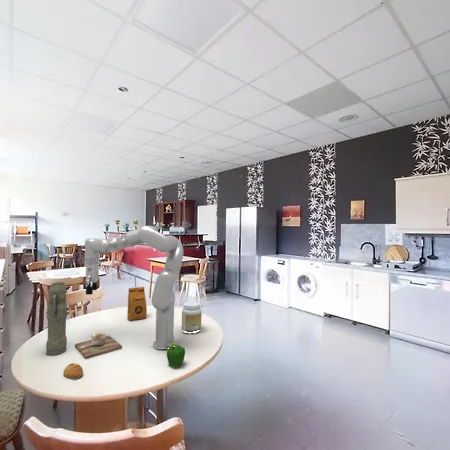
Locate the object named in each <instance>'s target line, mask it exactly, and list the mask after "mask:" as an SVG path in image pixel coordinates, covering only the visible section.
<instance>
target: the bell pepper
mask: <svg viewBox="0 0 450 450" xmlns="http://www.w3.org/2000/svg"><path fill="white" fill-rule="evenodd" d="M171 345H174V346H175V347H174V346H171V347H170V348H169V349H167V350H166V359H167V362H168V365H169V366H171V367H172V366H173V367H172V368H178V367H177V366H179V367H181V366H182V364H183V363H184V360H185V356H186V349H185V347H183V346H182V345H177V343H176V344H175V343H171ZM180 365H181V366H180Z"/></svg>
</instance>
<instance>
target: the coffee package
mask: <svg viewBox="0 0 450 450" xmlns="http://www.w3.org/2000/svg"><path fill="white" fill-rule="evenodd" d="M147 311H148V310H147V299H146V293H145V286H139V287H138V286H137V287H129V288H128V295H127V311H126V312H127V319H128V320H129V321H135V320H136V321H137V320H144V319H146V318H147V315H148V314H147Z"/></svg>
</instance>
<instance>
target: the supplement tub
mask: <svg viewBox="0 0 450 450" xmlns="http://www.w3.org/2000/svg"><path fill="white" fill-rule="evenodd" d="M182 307H183V308H182V309H181V310H182V311H181V331H182V330H183V331H187V332H193V331H197V330H200V329H201V330H202V307H201V303H200V302H198V301H187V302H184V303H183V306H182Z"/></svg>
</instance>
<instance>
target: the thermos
mask: <svg viewBox="0 0 450 450" xmlns="http://www.w3.org/2000/svg"><path fill="white" fill-rule="evenodd" d="M48 288H49V289H48V305H47V308H46V319H47V340H46V344H45V345H46V346H45V347H46V348H45V349H46V353H45V354H46V355H47V356H48V355H49V357H54V356H59V355H62V354H64V353H66V352H67V344H68V340H67V335H66V334H67V332H66V330H67V329H66V327H67V317H68V304H67V300H66V299H67V286H66V284H65V282H54V283H51V284H50V286H49V287H48Z"/></svg>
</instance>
